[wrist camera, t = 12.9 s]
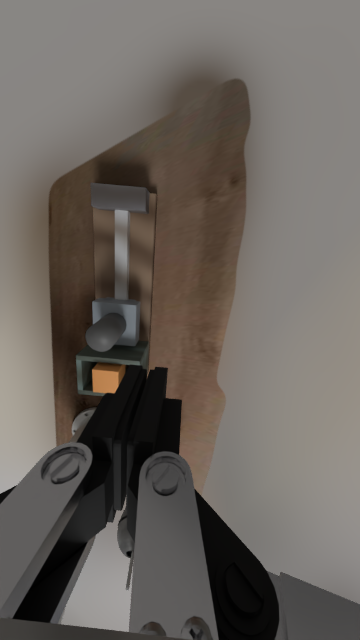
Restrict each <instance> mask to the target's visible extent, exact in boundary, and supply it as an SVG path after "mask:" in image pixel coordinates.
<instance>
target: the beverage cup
mask: <svg viewBox="0 0 360 640" xmlns="http://www.w3.org/2000/svg"><path fill="white" fill-rule="evenodd" d="M117 538H118V544H119V548H120V550H121V551H122V553H123V554H124V555H125V556H126V557H128V558H131V560H130V566H129V572H128V579H127V584H126V590H129V585H130V579H131V573H132V566H133V560H134V549H135V543H134V541H133V539H132V537H131V536H130V534H129V532H128V530H127V511H126V508H125V510H124V512H123V514H122V516H121V519H120V521H119V524H118V533H117Z"/></svg>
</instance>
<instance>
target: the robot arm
mask: <svg viewBox="0 0 360 640" xmlns="http://www.w3.org/2000/svg"><path fill="white" fill-rule="evenodd" d="M167 371H168V368H163V367H155V370H150V372H149V375H148V378H147V369H143V366H142V365H131V364H130V365H129V367H128V369H127V371H126V373H125V375H124V377H123V379H122V380H121V382H120V384H119V386H118V388H117V390H116V392H115V393H105V395H104V396H103V398H102V400H101V401H100V403H99V405H98V406H97V407H93V408H89V409H86V410H84V411H82V412H81V413H80V414H79V415H78V416H77V417H76V418H75V420H74V422H73V425H72V434H73V437H72V438H71V440H70V441H69V443H65V444H62V445H60V446H57V447H55V448H54V449H52V450H51V451H49V452H48V453H47V454H45V455H44V456H43V457H42V458H41V459H40V461H39V462H38V463H37V464H36V465H35V466H34V467H33V468H32V469H31V470H30V472H29V473H28V474H27V475H26V476H25V477H24V478H23V480H22V481H21V482H20V483H19V484H18V485H16V486H14V487H13V488H11V489H9V490H7V491H5V492H3V493H1V494H0V640H360V604H358V603H355V602H353V601H350V600H348V599H345V598H343V597H341V596H338V595H336V594H333V593H331V592H329V591H326V590H324V589H321V588H319V587H316V586H314V585H311V584H309V583H307V582H304V581H302V580H300V579H297V578H294V577H292V576H290V575H287V574H285V573H283V572H281V573H280V576H278V575H275V574H273V573H271V572H268V571H266V570H265V568H264V567H263V565H262V564H261V563H260V561H259V560H258V559H257V558H256V557H255V556H254V555H253V553H252V552H251V551H250V550H249V549H248V548H247V547H246V546H245V544H244V543H243V542H242V541H241V540H240V539H239V538H238V537H237V536H236V534H235V533H234V532H233V531H232V530H231V529H230V528H229V527H228V526H227V524H226V523H225V522H224V521H223V520H222V519H221V518H220V517H219V516H218V514H217V513H216V512H215V511H214V510H213V509H212V508H211V507H210V505H209V504H208V503H207V502H206V501H205V500H204V499H203V498H202V496H201V495H200V494H199V493H198V492H197V491H196V490H195V489H194V485H193V478H192V473H191V470H190V467H189V465H188V463H187V462H186V460H185V459H184V458H182V457H181V456H180V455H179V445H180V425H181V406H182V400H179V399H168V398H166V385H167ZM125 497H127V498H126V511H127V530H128V532H129V534H130V536H131V537H132V539H133V541H134V543H135V549H134V564H133V579H132V594H131V609H130V622H129V632H122V631H114V630H106V629H105V630H104V629H97V628H88V627H79V626H70V625H61V623H62V619H63V615H64V612H65V607H66V604H67V601H68V600H69V597H70V595H71V593H72V591H73V588H74V586H75V584H76V582H77V580H78V577H79V575H80V573H81V571H82V568H83V566H84V564H85V562H86V559H87V557H88V555H89V553H90V551H91V548H92V546H93V543H94V540H95V536H96V534H97V533H99V532H100V531H101V530H102V529H104V528H105V527H106V524H107V522H113V520H114V517H115V513H116V510H120V511H121V510H122V508H123V505H124V501H125Z"/></svg>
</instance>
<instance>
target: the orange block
mask: <svg viewBox="0 0 360 640" xmlns="http://www.w3.org/2000/svg"><path fill="white" fill-rule="evenodd" d="M125 367H126V365H124V364H113V363H103V362H98V363H97V364H96V366H95V367H94V368H93V369H92V376H93V392H98V393H115V392H116V390H117V388H118V386H119V384H120V382H121V380H122V379H123V377H124V375H125Z"/></svg>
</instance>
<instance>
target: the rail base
mask: <svg viewBox="0 0 360 640" xmlns="http://www.w3.org/2000/svg"><path fill="white" fill-rule="evenodd" d="M91 206H93V225H94V262H95V299H98V298H107V297H110V298H114V299H118V300H129V299H132V300H136V301H139V302H140V325H139V340H138V342H137V344H136V346H126V345H116V344H114V345H113V346H112V348H111V349H109V350H107V351H104V352H100V351H96V350H94V349H92V348H91V347H90V346H89V345H87V346H86V347H85V348H83V349H82V350H81V351H80V352H79V353H78V354H77V355H76V367H77V384H78V394H84V395H95V396H104V395H105V393H98V392H93V376H92V369H93V368H94V367H95V366H96V364H97V363H98V362H103V363H113V364H124V365H126V367H125V373H126V371H127V369H128V367H129V365H130V364H131V365H142V366H143V369H147V373H148V370H149V352H150V332H151V312H152V292H153V272H154V252H155V232H156V212H157V195H156V194H153V193H149V191H148V190H147V188H144V187H133V186H122V185H110V184H99V183H91Z"/></svg>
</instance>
